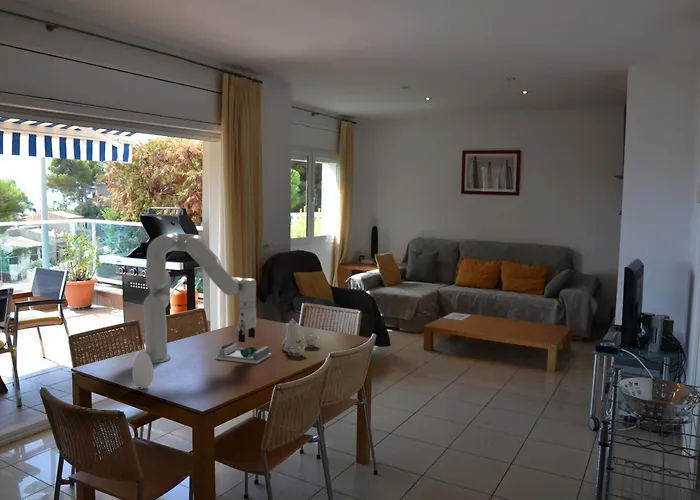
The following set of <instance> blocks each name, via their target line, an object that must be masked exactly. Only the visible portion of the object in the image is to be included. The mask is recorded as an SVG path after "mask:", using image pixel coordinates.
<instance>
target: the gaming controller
mask: <svg viewBox="0 0 700 500" xmlns="http://www.w3.org/2000/svg"><path fill="white" fill-rule="evenodd" d="M241 348H242V349H241V351H240V352H241V355H242V356H243V357H246V358H248V355H252V354H253V353H254V352H256V351H258V350H259V349H257V348H256V347H254V345H251V346H249V347H246V348H245V347H241Z"/></svg>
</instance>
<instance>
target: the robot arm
mask: <svg viewBox="0 0 700 500" xmlns="http://www.w3.org/2000/svg"><path fill="white" fill-rule="evenodd" d="M205 242H206V241H205V240H204V238H203V236H201V235H199V234H191V233H182V232H181V233H179V232H168V233H164V234H161V235H159V236H158V237H156V238H153V239H152V240H151V242H150V243H149V245H148V246H147V250H146V265H145V284H146V287H147V288H148V289H149V294H148V295H147V296H146V298H145V299H144V301H143V306H142V307H143V316H144V333H145V334H144V338H145V339H144V340H145V341H144V343H145V351H146V353H147V354H148V356H149V357H150V359H151V362H152V364H157V363H158V362H160V363H164V362H168V361H170V360H171V355H170V354H168V348H167V347H168V337H167V336H168V334H167V332H168V331H167V327H168V325H167V313H166V308H167V307H168V305H169V304H170V300H171V298H170V297H171V276H170V273H169V272H168V270H167V269H166V268H167V266H166V263H167V260H166V255H167V254H168V253H170V252H173V251H180V252H186V253H188V254H189V255H190V257H191V258H192V259H193V260H194V261H195V262H196V263H197V264H198V265H199V266H200V267H201V268H202V269H203V270H204V272H205V273H206V275H207V276H208V277H209V278H210V279H211V281H212V282H213V283H214V284H215V285H216V286H217V287H218V288H219V289H220V291H221V292H222V293H223V294H225V295H226V296H235V295H236V294H237V293H239V314H238V324H237V326H236V330H237V333H238V334H237V335H238V340H237V341H238V342H239V343H245V342H246V334H245V332H246V330H248V331H247V332H248V335H247V337H248V338H251V339H254V338H255V336H256V326H257V308H256V300H257V298H256V297H257V295H256V294H257V280H256V279H255V278H250V277H249V278H247V277H245V278H242V277H236V276H231V275H230V274H229V273H228V272H227V270H226V269H225V268H224V267H223V265H222V263H221V260H220V259H219V257H218V256H217V255H216V254H215V253H214V252H213V250H212V249H211V248H210V247H209V246H208V245H207V244H206V243H205ZM158 364H159V363H158Z"/></svg>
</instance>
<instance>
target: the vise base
mask: <svg viewBox="0 0 700 500" xmlns="http://www.w3.org/2000/svg"><path fill="white" fill-rule="evenodd" d="M242 348H243V347H236V350H235V351H233V352H231V353H229V354H227V355H220V353H219V354H217V355H216V356H215V357H214V359H215V360H221V361H231V362H237V363H239V362H240V363H249V364H257V365H258V364H259V363H260V362H262V361H264V360H265V359H267V358H269V357H270V356H272V353H271V352H270V347H269V346H267V345H266V346H263V347H261V348H260V349H257V350H258V351H256V352H254V353H253V354H252V355H248V358H246V357H243V356H242V355H241V352H240V351H241V349H242Z"/></svg>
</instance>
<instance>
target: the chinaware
mask: <svg viewBox="0 0 700 500" xmlns="http://www.w3.org/2000/svg"><path fill="white" fill-rule="evenodd" d="M299 324H300V323H298V322H296V320H295V319H294V318H291V319H290V320H289V322H286V323H285V325H286V335H285V337H284V339H283V341H282V342H281V345H282V348H283V351H284V352H287V353H288V355H289V356H292V357H297V356H298V357H301V356H302V354H303V353H304V352H305V349H306V348H308V347H309V348H311V349H312V348H314V347H315V345H317V343H318V340H319V339H320V336H319V335H315V334H310V335H307V334H306V335H303V337H302V339H303V341H304V343H303V342H302V339H301V338H300V335H299ZM300 355H301V356H300Z"/></svg>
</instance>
